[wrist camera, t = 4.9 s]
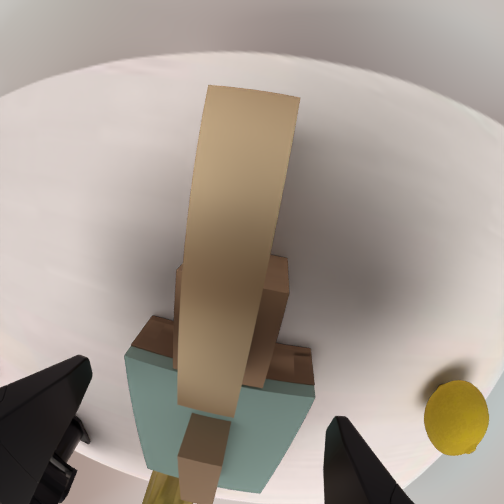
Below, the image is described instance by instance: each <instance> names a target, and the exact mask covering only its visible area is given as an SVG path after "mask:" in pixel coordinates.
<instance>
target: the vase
mask: <svg viewBox="0 0 504 504" xmlns="http://www.w3.org/2000/svg"><path fill="white" fill-rule="evenodd" d="M142 504H193V503H192V502H188V501H184V500H181V496H180V485H179V478H177V477H173V476H170V475H167V474H163V473H160V472H157V471H154V470H153V472H152V475H151V478H150V481H149V484H148V487H147V490H146V493H145V496H144V499H143V502H142Z"/></svg>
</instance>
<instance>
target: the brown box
mask: <svg viewBox="0 0 504 504" xmlns="http://www.w3.org/2000/svg"><path fill="white" fill-rule="evenodd" d="M182 269H183V263H182V265H181V266H180V267H179V268H178V269H177V270H176V285H175V303H174V321H172V320H168V319H164V318H160V317H157V316H153V315H152V317H151V318H150V319H149V321H148V322H147V323H146V325H145V326H144V327H143V329H142V330H141V332H140V333H139V334H138V336H137V337H136V338H135V340H134V341H133V342H132V344H131V346H133V347H136V348H139V349H143V350H146V351H149V352H152V353H156V354H159V355H163V356H166V357H170V358H173V369H177V370H178V336H179V314H180V297H181V282H182ZM288 296H289V278H288V261H287V258H285V257H279V256H274V255H270V258H269V263H268V268H267V272H266V277H265V282H264V287H263V291H262V296H261V301H260V305H259V310H258V314H257V319H256V324H255V328H254V333H253V337H252V342H251V346H250V351H249V355H248V359H247V364H246V368H245V373H244V377H243V381H242V385H247V386H253V387H258V388H263V385H264V382H265V379H270V380H276V381H283V382H290V383H297V384H305V385H313V386H314V385H315V383H314V374H313V365H312V356H311V348H304V347H297V346H291V345H285V344H279V343H276V341H277V337H278V334H279V330H280V326H281V323H282V319H283V315H284V312H285V308H286V304H287V300H288Z"/></svg>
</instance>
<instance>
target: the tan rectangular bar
mask: <svg viewBox="0 0 504 504" xmlns="http://www.w3.org/2000/svg"><path fill="white" fill-rule="evenodd" d="M299 103H300V98H299V97H294V96H289V95H284V94H278V93H272V92H266V91H259V90H252V89H244V88H235V87H226V86H214V85H208V89H207V94H206V99H205V105H204V110H203V115H202V121H201V127H200V132H199V138H198V145H197V151H196V157H195V164H194V171H193V178H192V185H191V193H190V201H189V209H188V218H187V227H186V237H185V247H184V258H183V269H182V282H181V297H180V314H179V336H178V374H177V405H181V406H184V407H188V408H192V409H196V410H200V411H204V412H208V413H213V414H217V415H222V416H227V417H232V418H234V415H235V411H236V407H237V403H238V399H239V394H240V390H241V386H242V381H243V377H244V373H245V368H246V364H247V359H248V355H249V351H250V346H251V342H252V337H253V333H254V328H255V324H256V319H257V314H258V310H259V305H260V301H261V296H262V291H263V287H264V282H265V277H266V272H267V268H268V263H269V258H270V253H271V248H272V243H273V239H274V234H275V229H276V224H277V219H278V214H279V209H280V204H281V199H282V194H283V188H284V183H285V178H286V173H287V168H288V162H289V157H290V152H291V147H292V141H293V136H294V130H295V125H296V119H297V114H298V108H299Z"/></svg>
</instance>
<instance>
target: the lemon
mask: <svg viewBox="0 0 504 504" xmlns="http://www.w3.org/2000/svg"><path fill="white" fill-rule="evenodd" d="M424 424H425V429H426V432H427V435H428V437H429V439H430V441H431V442H432V444H433V445H434V446H435V448H436V449H437V450H439V451H440V452H442V453H443V454H446V455H451V456H455V455H462V454H465V453H466V454H470V453H472V452H474V451H475V449H476V447H477V445H478V444H479V442H480V441H481V440H482V438H483V437H484V435H485V433H486V431H487V427H488V424H489V414H488V408H487V404H486V401H485V399H484V397H483V395H482V393H481V392H480V391H479V390H478V389H477V388H476V387H475V386H474V385H473V384H471V383H469V382H467V381H462V380H456V381H451V382H448V383H446V384H441V385H439V386H438V388H437V390H436V391H435V392H434V393H433V394H432V396H431V397H430V399H429V400H428V403H427V405H426V408H425V413H424Z"/></svg>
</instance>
